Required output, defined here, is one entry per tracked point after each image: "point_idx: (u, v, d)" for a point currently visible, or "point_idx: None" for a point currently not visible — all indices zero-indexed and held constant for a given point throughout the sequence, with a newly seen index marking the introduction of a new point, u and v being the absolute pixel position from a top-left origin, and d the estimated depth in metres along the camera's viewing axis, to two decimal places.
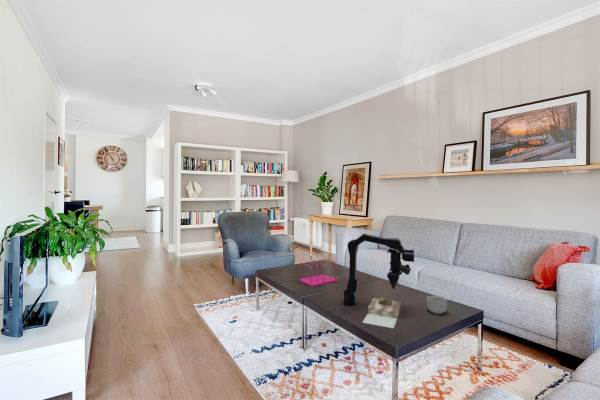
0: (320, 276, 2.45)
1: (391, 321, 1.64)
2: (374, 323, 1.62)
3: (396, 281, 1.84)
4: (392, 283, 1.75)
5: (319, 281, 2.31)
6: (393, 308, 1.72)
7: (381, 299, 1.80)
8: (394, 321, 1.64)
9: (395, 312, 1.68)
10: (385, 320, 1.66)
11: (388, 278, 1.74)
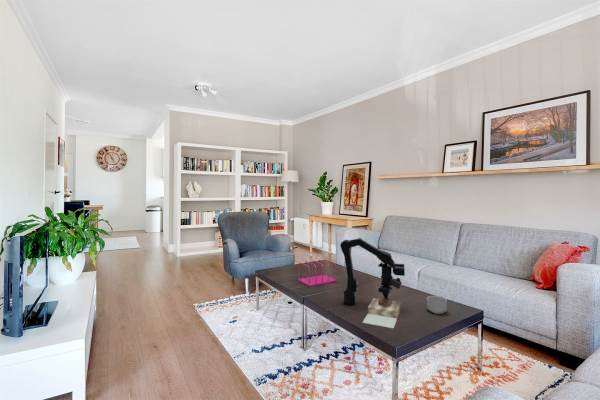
0: (320, 276, 2.45)
1: (391, 321, 1.64)
2: (374, 323, 1.62)
3: None
4: (385, 295, 1.82)
5: (318, 281, 2.31)
6: (393, 308, 1.72)
7: (381, 299, 1.80)
8: (394, 321, 1.64)
9: (395, 312, 1.68)
10: (385, 320, 1.66)
11: None
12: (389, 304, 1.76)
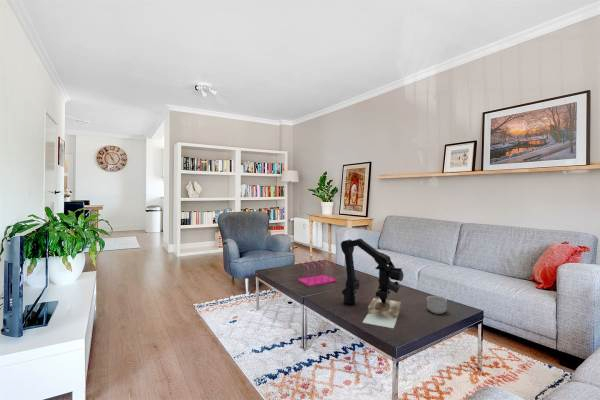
0: (320, 276, 2.44)
1: (391, 321, 1.64)
2: (374, 323, 1.62)
3: None
4: (382, 299, 1.75)
5: (317, 281, 2.31)
6: (393, 308, 1.72)
7: (378, 304, 1.72)
8: (394, 321, 1.64)
9: (395, 312, 1.68)
10: (385, 320, 1.66)
11: None
12: (386, 309, 1.68)
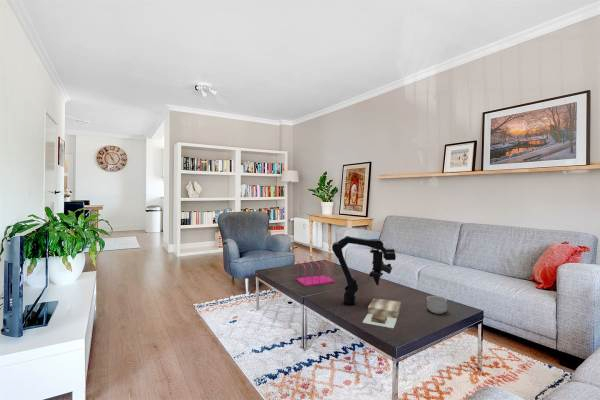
0: (319, 276, 2.44)
1: (391, 321, 1.64)
2: (374, 323, 1.62)
3: None
4: (376, 280, 1.88)
5: (315, 281, 2.31)
6: (393, 308, 1.72)
7: None
8: (394, 321, 1.64)
9: (395, 312, 1.68)
10: None
11: None
12: None
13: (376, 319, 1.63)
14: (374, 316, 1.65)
